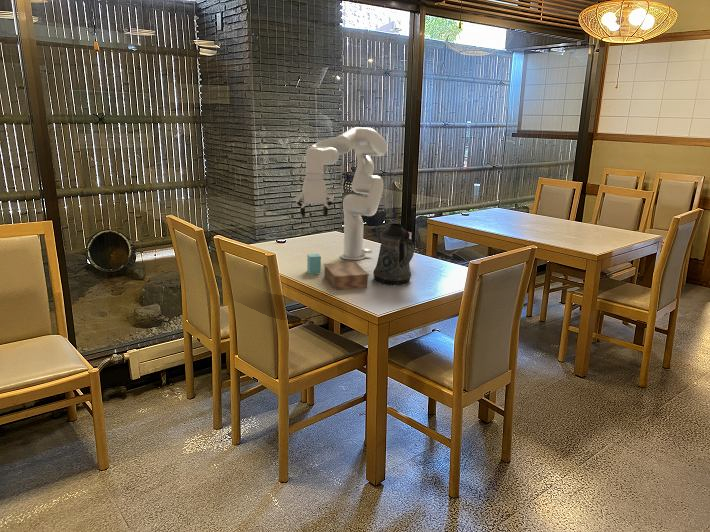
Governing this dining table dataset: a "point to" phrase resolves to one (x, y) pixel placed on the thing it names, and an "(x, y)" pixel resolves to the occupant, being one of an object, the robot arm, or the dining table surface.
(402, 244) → the beer stein
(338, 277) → the walnut box
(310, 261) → the teal block
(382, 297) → the dining table surface
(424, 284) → the dining table surface
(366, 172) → the robot arm
